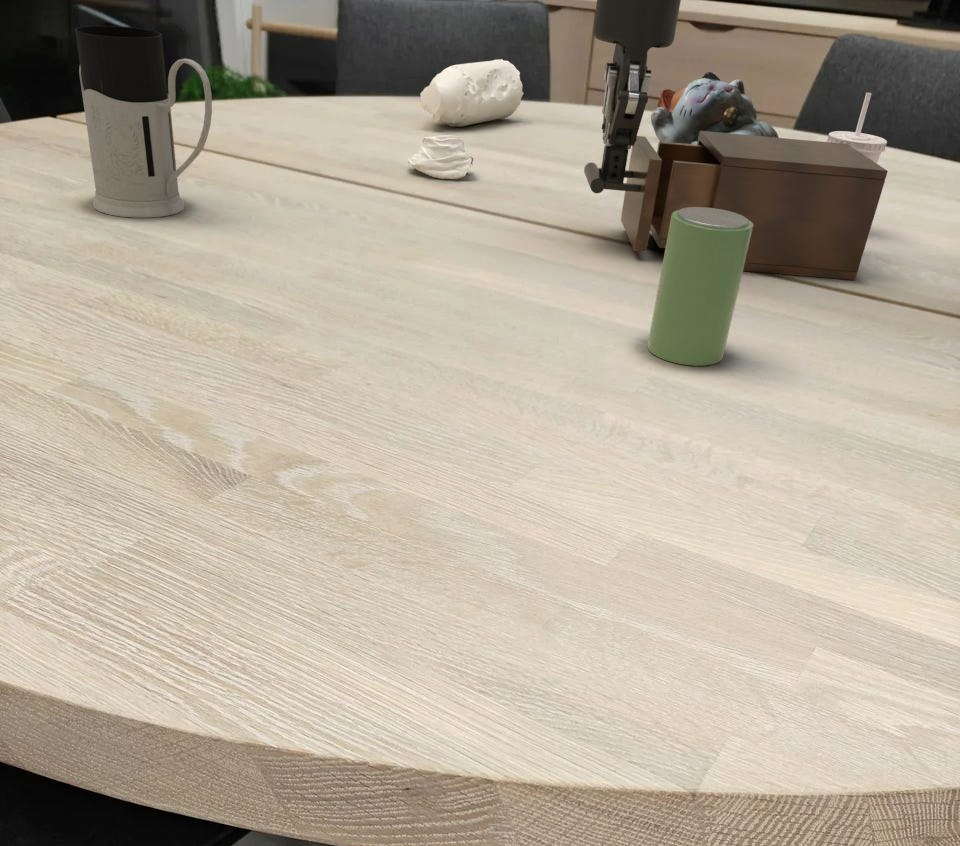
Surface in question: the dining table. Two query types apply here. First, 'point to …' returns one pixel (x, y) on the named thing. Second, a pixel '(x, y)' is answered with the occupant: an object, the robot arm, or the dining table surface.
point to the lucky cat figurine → (706, 111)
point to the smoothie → (861, 137)
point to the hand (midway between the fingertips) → (610, 187)
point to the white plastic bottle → (473, 93)
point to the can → (699, 285)
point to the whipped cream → (442, 157)
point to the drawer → (660, 187)
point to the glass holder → (133, 120)
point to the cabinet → (798, 201)
